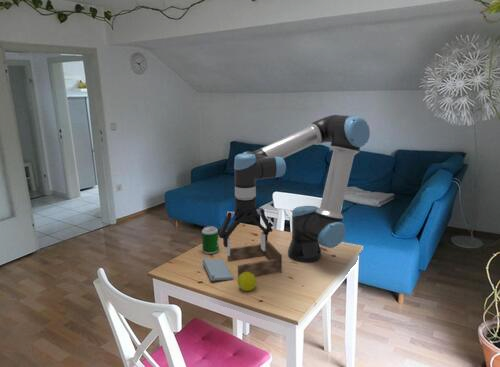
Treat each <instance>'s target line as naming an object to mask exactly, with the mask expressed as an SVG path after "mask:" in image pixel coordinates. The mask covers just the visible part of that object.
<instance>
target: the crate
mask: <svg viewBox="0 0 500 367" xmlns="http://www.w3.org/2000/svg"><path fill="white" fill-rule="evenodd" d="M226 256H227V262H234V261H239V260H246V259H253V258H260V257H264V256H265V257H266V259H267V260H261V261H256V262H255V261H254V262H250V263H243V264H238V265H237V279H238V278H239V276H240V274H242V273H244V272H250V273H253V274H254V276H255V277H258V276H259V277H260V276H265V275H270V274H276V273H281V274H282V272H283V270H282V265H283V263H282V261H283V260H282V258H283V255H282V254H281V253H280V251H278V249H277V248H276V247H275V246H274V245H273V244H272V243H271V242H270V241H269V240H267V242H265V251H263V250H262V249H261V243H258V244H251V245H243V246H237V247H232V248H231V247H230V256H228V255H227V254H226Z"/></svg>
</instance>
